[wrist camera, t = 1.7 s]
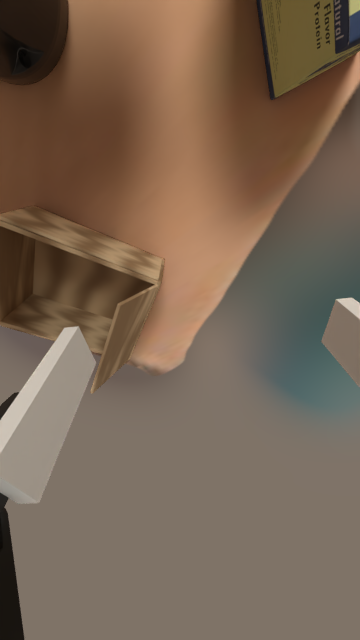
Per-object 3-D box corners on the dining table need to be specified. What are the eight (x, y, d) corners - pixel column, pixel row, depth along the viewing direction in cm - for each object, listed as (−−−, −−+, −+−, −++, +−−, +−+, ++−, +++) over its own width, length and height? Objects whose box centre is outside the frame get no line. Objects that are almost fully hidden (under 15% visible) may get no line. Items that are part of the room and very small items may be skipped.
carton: (30, 296, 43) (-4, 325, 35) (34, 202, 34) (-11, 212, 26) (136, 330, 49) (128, 362, 40) (165, 256, 39) (162, 280, 31)
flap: (125, 360, 39) (90, 392, 32) (156, 284, 31) (117, 303, 23) (127, 361, 39) (92, 393, 32) (158, 285, 31) (120, 305, 23)
